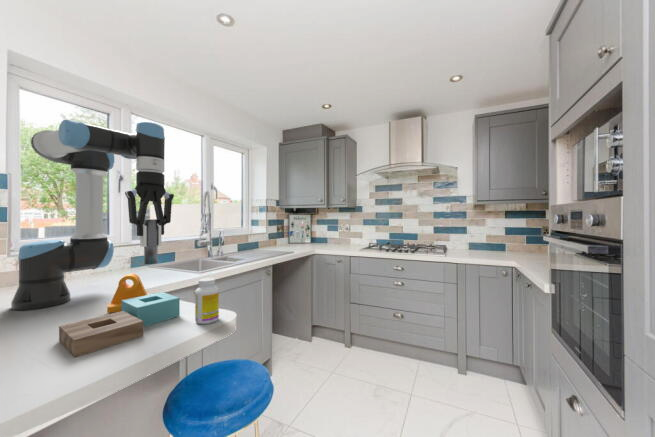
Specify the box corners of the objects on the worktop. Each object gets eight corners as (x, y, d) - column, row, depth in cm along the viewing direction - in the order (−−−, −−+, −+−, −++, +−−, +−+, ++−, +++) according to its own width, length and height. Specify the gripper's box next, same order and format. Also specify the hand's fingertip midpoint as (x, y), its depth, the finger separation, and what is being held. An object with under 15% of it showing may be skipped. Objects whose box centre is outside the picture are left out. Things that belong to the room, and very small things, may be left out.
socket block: (59, 341, 70) (59, 326, 70) (123, 324, 82) (123, 310, 81) (74, 357, 62) (74, 339, 62) (143, 335, 73) (143, 321, 73)
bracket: (106, 315, 89) (106, 279, 89) (112, 309, 95) (112, 274, 95) (145, 310, 94) (145, 276, 94) (148, 304, 100) (148, 272, 100)
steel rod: (142, 263, 86) (142, 219, 86) (154, 262, 89) (154, 219, 89) (147, 264, 84) (147, 219, 84) (159, 263, 87) (159, 219, 87)
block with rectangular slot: (121, 319, 85) (121, 300, 85) (162, 309, 95) (162, 291, 95) (137, 328, 78) (136, 307, 78) (179, 316, 88) (179, 297, 88)
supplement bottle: (223, 318, 86) (223, 278, 86) (207, 326, 80) (207, 282, 80) (206, 315, 88) (206, 276, 88) (190, 323, 82) (190, 280, 82)
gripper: (124, 167, 78) (124, 249, 78) (183, 174, 91) (183, 244, 91) (114, 169, 82) (114, 247, 82) (172, 176, 96) (172, 243, 96)
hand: (150, 245), depth 87 cm, fingers closed on steel rod, 4 cm apart
